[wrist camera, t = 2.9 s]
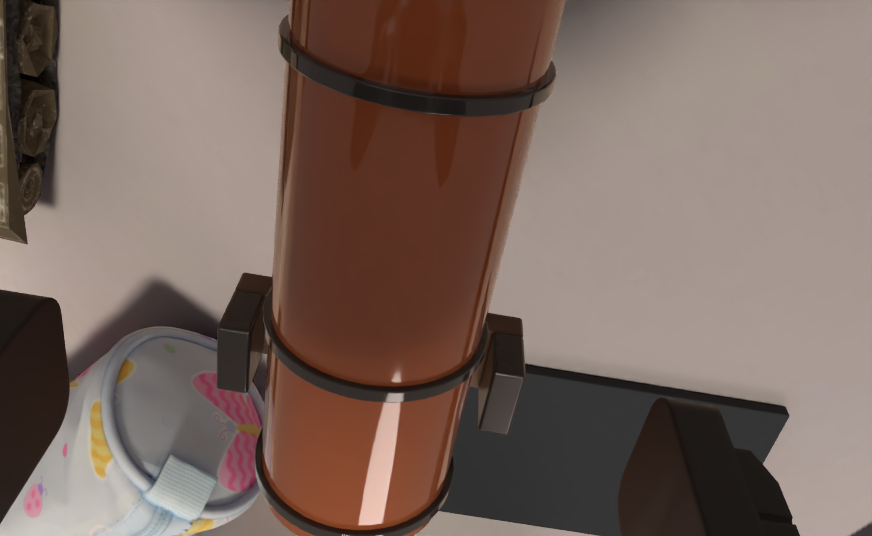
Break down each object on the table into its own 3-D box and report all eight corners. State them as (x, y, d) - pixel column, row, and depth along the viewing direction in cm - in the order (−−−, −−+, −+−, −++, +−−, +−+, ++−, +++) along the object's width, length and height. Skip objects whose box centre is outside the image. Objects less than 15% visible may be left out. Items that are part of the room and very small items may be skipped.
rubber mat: (786, 406, 37) (790, 415, 36) (710, 544, 42) (713, 553, 41) (402, 344, 36) (401, 352, 35) (375, 492, 41) (374, 501, 41)
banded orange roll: (615, -254, 13) (673, -260, 9) (452, 423, 22) (444, 574, 18) (330, -310, 13) (260, -343, 9) (277, 395, 22) (229, 542, 18)
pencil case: (51, 571, 45) (-63, 734, 36) (-73, 470, 42) (-226, 621, 34) (315, 406, 37) (247, 565, 29) (182, 271, 34) (65, 402, 26)
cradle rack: (591, -201, 24) (689, -165, 13) (497, 200, 32) (504, 450, 20) (350, -248, 24) (226, -257, 12) (313, 169, 31) (215, 405, 20)
